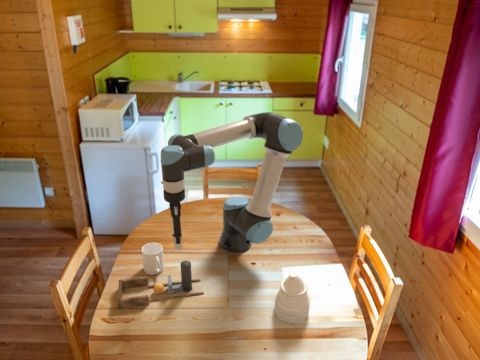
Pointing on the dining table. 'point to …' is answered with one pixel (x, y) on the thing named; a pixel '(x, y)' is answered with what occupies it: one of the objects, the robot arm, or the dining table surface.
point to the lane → (175, 295)
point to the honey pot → (292, 299)
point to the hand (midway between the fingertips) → (177, 239)
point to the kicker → (182, 279)
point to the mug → (153, 258)
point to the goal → (132, 300)
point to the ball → (158, 288)
